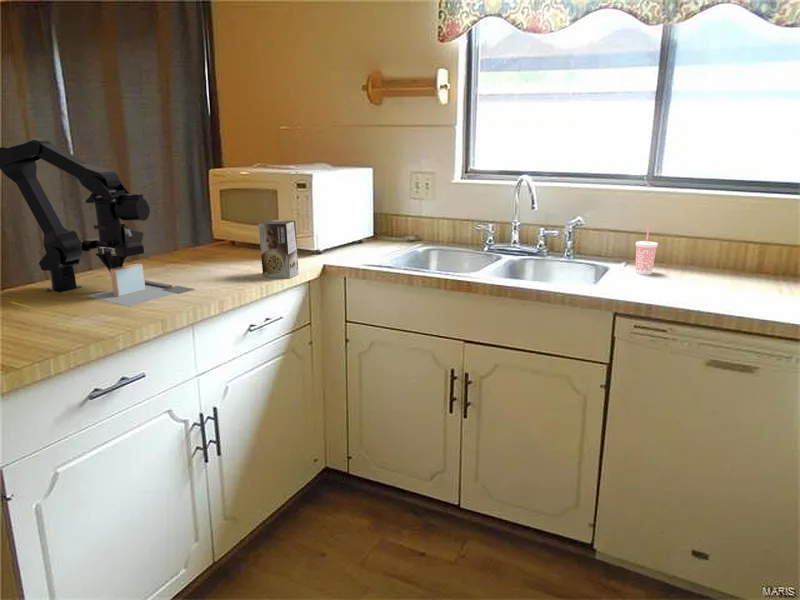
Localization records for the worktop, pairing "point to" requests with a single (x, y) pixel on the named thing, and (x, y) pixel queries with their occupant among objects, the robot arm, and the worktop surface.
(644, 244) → the beverage cup
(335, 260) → the worktop surface
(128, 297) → the mat
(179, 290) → the turner
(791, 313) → the worktop surface
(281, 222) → the coffee box
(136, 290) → the tile
